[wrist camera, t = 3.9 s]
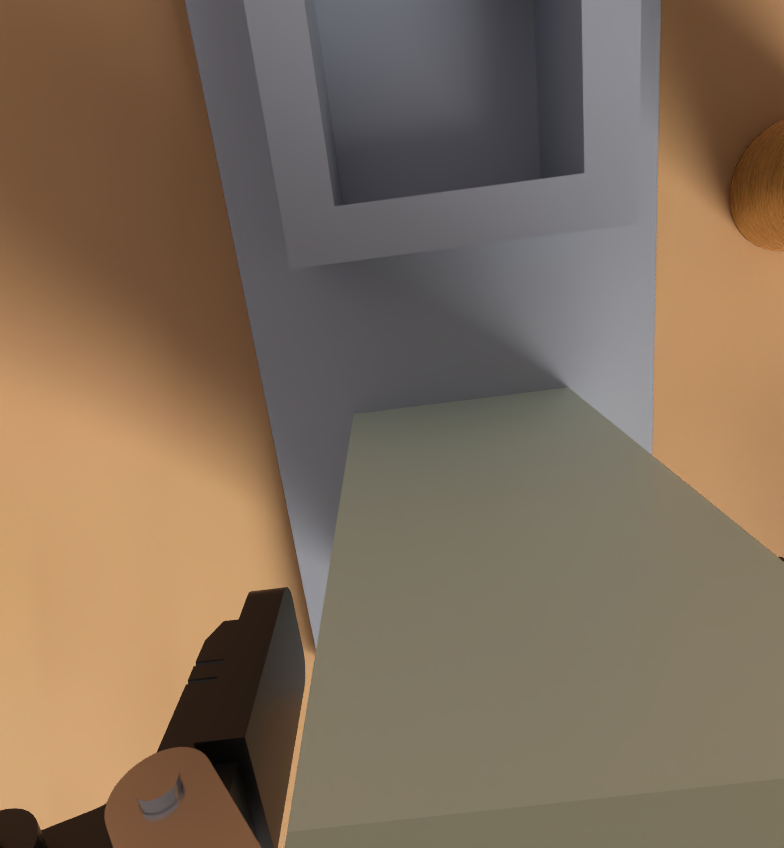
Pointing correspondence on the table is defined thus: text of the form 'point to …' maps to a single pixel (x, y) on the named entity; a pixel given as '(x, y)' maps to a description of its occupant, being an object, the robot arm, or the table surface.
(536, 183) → the board
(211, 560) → the table surface
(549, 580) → the block
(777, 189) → the brass pin
